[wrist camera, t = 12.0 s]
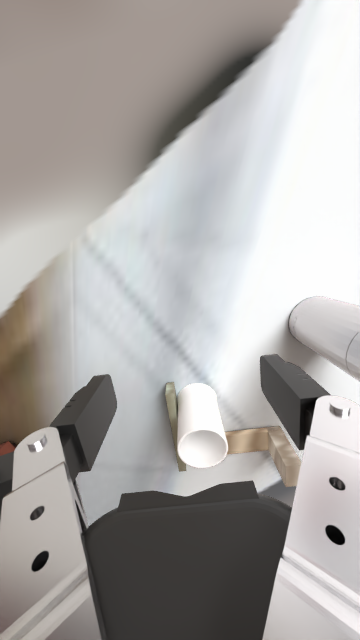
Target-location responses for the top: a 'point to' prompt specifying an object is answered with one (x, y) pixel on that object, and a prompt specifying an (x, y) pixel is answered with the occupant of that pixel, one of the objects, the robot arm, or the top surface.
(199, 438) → the mug
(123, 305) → the top surface
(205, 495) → the robot arm
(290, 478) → the bracket
